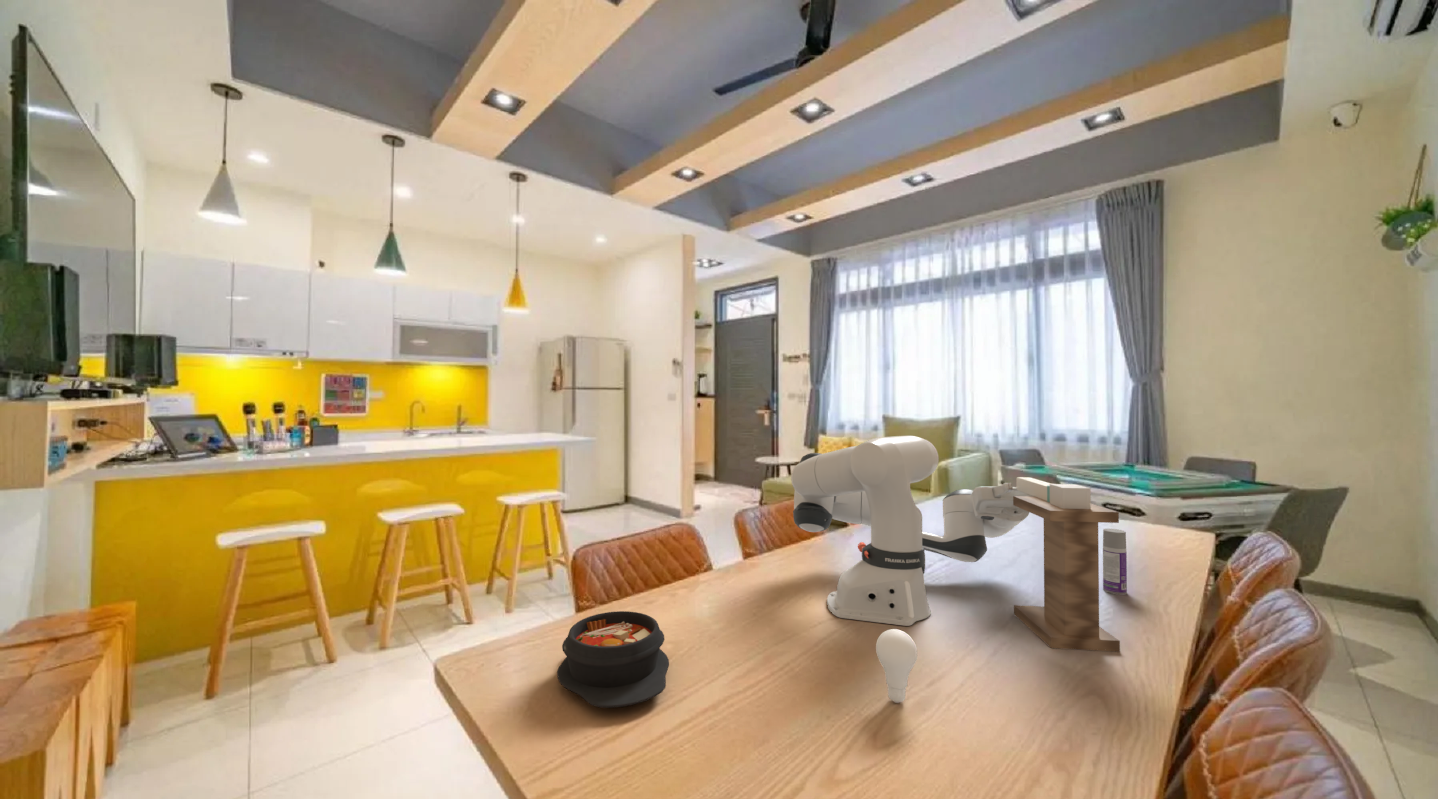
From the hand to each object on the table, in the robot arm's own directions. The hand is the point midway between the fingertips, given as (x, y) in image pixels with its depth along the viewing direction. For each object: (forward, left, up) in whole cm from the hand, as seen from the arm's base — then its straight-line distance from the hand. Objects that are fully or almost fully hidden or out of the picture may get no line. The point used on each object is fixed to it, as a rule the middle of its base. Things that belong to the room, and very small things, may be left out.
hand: (1030, 486), depth 120 cm
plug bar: (0, -8, -1) cm, 8 cm away
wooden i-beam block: (0, -14, -27) cm, 31 cm away
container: (+25, +12, -28) cm, 39 cm away
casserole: (-85, -42, -28) cm, 99 cm away
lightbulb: (-39, -44, -28) cm, 65 cm away
